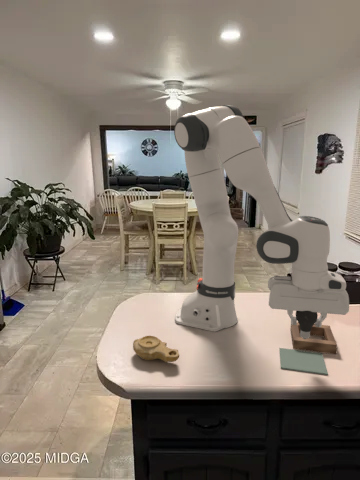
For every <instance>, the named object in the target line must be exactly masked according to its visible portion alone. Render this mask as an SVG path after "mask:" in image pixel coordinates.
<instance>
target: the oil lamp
mask: <svg viewBox="0 0 360 480" xmlns="http://www.w3.org/2000/svg"><path fill="white" fill-rule="evenodd" d="M132 349H133V352H134V353H135V354H136V355H137V356H138V357H140V358H141V359H142V358H143V359H142V360H144V359H145V361H153V360H158V359H159V360H161V361H163V362H165V363H174V362H176V361H178V360H179V359H180V352H179V349H177V348H176V349H175V348H170V347H167V342H166V341H162V340H161V339H160V338H158V337H157V336H155V335H145V336H143V337H140V338H136V339H134V340H133V342H132Z"/></svg>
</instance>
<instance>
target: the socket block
mask: <svg viewBox="0 0 360 480" xmlns="http://www.w3.org/2000/svg"><path fill="white" fill-rule="evenodd" d="M289 329H290V337H291V344H292V349H293V350H301V351H309V352H318V353H322V354H323V353H325V354H331V355H337V350H338V344H337V341H336V339H335V336H334V334H333V331H332V329H331V326H330V325H327V324H322V325H321V327H315V324H314V325H313V326H312V328H311V331H310V336H316V337H317V336H318V337H323V339H318V338H317V339H316V338H310V337H309V338H307V339H303V338H302V337H301V335H300V332H301V330H300V325H299V323H298V321H297V325H291V324H290V328H289Z"/></svg>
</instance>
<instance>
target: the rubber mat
mask: <svg viewBox="0 0 360 480" xmlns="http://www.w3.org/2000/svg"><path fill="white" fill-rule="evenodd" d="M279 359H280V360H279V361H280V362H279V363H280V369H281V370H288V371H295V372H303V373H308V374H309V373H310V374H311V373H312V374H316V375H325V376H329V372H328V368H327V365H326V362H325V358H324V355H323V353H322V352H314V351H306V350H298V349H293V348H292V349H291V348H284V347H279Z"/></svg>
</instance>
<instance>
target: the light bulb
mask: <svg viewBox="0 0 360 480" xmlns="http://www.w3.org/2000/svg"><path fill="white" fill-rule="evenodd" d="M295 317H296V319H297V322H298V323H299V325H300V330H301V332H300V337H301V338H303V339H307V338H309V339H310V337H311V335H310V331H311V328H312V326H313V325H314V324H315V322H316V321H317V319H318V318H319V317H318V313H317V312H311V311H295Z"/></svg>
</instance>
